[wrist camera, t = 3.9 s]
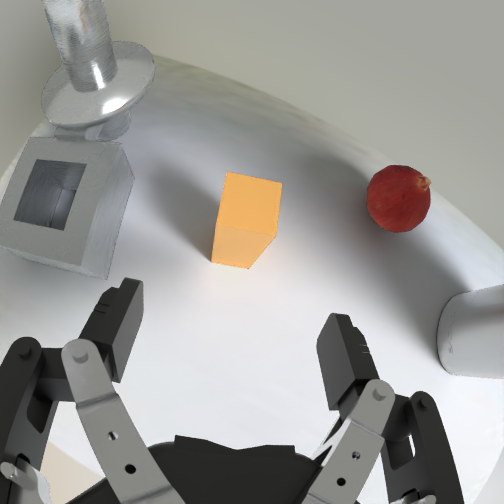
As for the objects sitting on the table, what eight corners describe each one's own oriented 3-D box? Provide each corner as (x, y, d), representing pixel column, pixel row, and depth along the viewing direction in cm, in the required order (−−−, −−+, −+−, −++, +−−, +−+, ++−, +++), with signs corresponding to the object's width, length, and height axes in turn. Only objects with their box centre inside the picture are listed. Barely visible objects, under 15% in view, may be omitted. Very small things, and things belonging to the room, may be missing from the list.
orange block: (254, 233, 24) (282, 183, 15) (248, 269, 23) (275, 236, 15) (217, 226, 24) (226, 171, 15) (210, 262, 23) (215, 224, 14)
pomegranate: (345, 186, 27) (388, 141, 19) (391, 186, 28) (437, 149, 20) (359, 244, 25) (412, 214, 18) (405, 239, 27) (460, 212, 19)
